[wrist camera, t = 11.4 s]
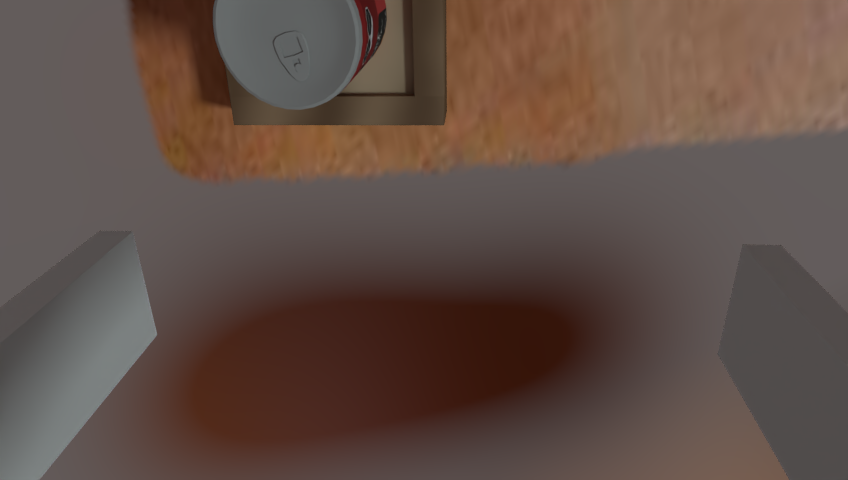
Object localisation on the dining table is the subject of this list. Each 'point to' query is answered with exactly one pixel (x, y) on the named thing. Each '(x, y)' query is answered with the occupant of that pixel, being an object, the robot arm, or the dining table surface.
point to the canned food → (297, 46)
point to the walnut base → (376, 78)
